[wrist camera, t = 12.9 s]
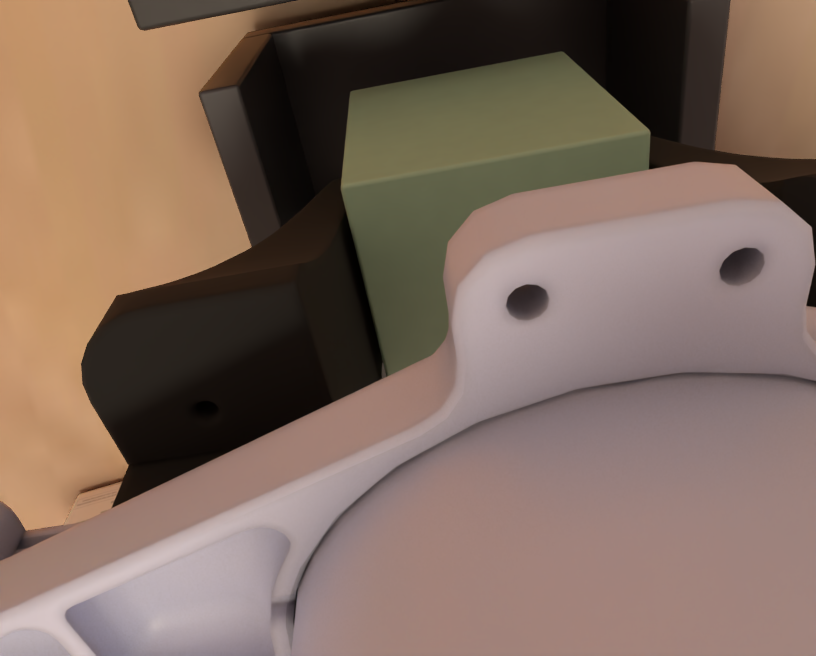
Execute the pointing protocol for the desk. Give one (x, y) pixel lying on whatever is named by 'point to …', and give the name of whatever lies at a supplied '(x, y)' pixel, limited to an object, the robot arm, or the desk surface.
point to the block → (464, 173)
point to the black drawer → (426, 56)
